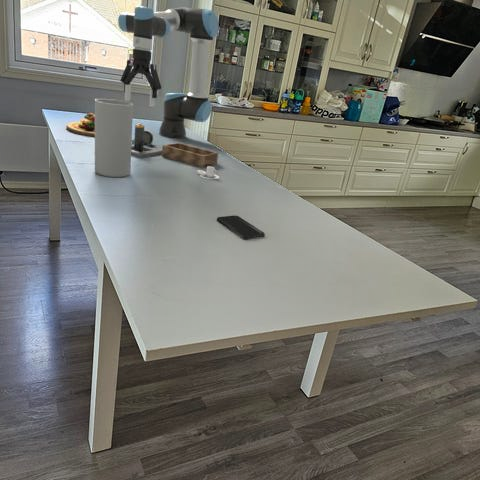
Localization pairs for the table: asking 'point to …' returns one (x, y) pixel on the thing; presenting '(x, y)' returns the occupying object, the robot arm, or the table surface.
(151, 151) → the grey flat square frame
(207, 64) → the robot arm
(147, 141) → the ceramic mug
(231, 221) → the phone
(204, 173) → the teacup and saucer
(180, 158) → the walnut trough
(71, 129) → the wooden plate with food
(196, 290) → the table surface
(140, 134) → the battery cell
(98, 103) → the cylinder vase
